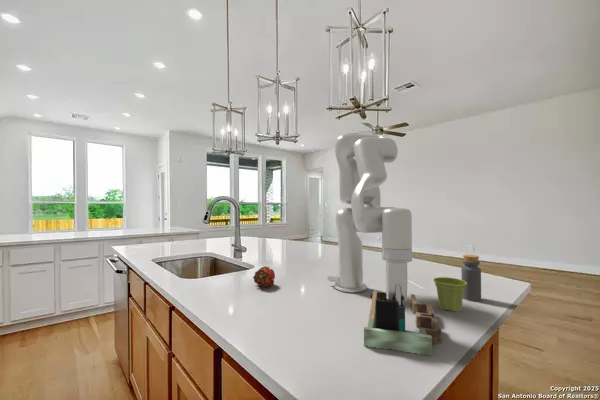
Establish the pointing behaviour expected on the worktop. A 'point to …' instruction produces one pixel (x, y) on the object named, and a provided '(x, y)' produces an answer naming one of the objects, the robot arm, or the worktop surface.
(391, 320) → the black blue bulged block
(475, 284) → the bottle
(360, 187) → the robot arm
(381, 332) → the trap channel
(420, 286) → the white baseball bat
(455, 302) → the plant pot
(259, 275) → the dragon fruit
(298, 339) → the worktop surface
